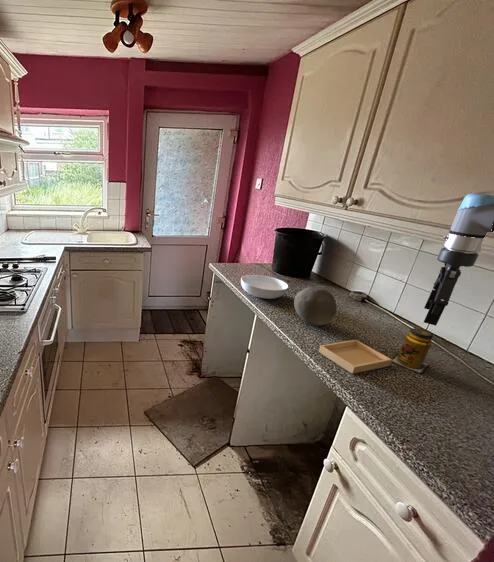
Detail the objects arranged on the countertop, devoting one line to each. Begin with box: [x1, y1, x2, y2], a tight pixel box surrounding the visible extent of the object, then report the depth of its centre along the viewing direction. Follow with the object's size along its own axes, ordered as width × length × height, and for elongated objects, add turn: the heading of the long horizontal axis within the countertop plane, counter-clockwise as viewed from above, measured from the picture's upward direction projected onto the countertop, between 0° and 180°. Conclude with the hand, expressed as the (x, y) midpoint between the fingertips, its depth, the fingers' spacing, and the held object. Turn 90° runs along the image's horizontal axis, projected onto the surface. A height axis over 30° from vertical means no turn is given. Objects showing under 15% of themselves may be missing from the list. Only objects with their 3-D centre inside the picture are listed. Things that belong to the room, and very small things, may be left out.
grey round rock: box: [293, 286, 338, 326], centre depth 123 cm, size 14×14×15 cm
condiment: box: [392, 327, 434, 373], centre depth 100 cm, size 7×8×12 cm
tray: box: [318, 339, 393, 374], centre depth 103 cm, size 16×12×2 cm
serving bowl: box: [240, 274, 289, 300], centre depth 150 cm, size 21×21×7 cm
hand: (429, 316), depth 96 cm, fingers open, 13 cm apart
